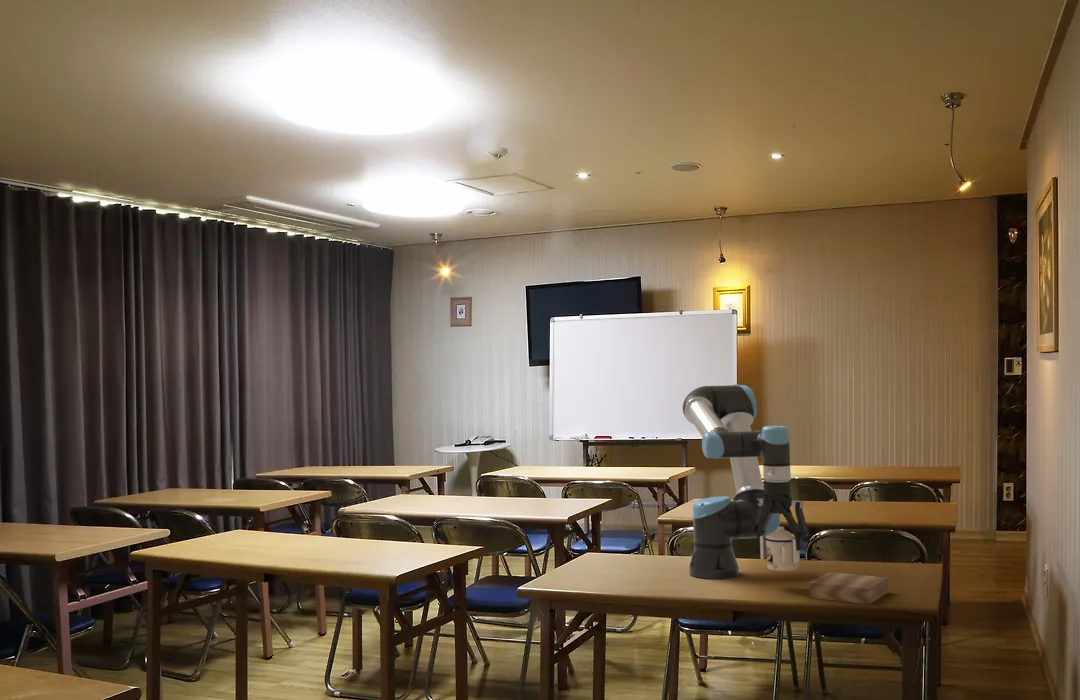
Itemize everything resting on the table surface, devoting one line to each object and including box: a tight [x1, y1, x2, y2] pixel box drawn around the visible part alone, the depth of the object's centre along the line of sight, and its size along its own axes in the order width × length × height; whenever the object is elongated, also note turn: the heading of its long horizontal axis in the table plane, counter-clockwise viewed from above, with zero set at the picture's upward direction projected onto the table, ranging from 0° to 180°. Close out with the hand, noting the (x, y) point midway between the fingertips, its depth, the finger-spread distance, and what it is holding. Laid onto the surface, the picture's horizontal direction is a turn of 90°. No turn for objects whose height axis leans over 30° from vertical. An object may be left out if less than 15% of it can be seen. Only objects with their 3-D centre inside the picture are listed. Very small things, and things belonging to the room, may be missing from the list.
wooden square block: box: [808, 571, 889, 605], centre depth 245 cm, size 16×16×4 cm
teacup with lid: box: [765, 526, 799, 572], centre depth 254 cm, size 12×9×12 cm
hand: (780, 560), depth 255 cm, fingers closed on teacup with lid, 9 cm apart
